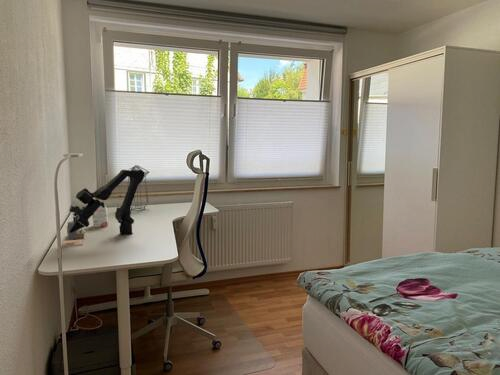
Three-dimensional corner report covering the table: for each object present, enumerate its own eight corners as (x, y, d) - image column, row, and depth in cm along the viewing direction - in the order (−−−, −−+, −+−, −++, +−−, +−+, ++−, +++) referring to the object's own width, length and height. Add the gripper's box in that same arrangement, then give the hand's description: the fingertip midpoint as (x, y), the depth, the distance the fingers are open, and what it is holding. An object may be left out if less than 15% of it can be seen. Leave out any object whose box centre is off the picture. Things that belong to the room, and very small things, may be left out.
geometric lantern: (123, 211, 286) (121, 165, 282) (135, 207, 300) (133, 164, 297) (141, 212, 281) (139, 165, 277) (152, 208, 296) (151, 164, 292)
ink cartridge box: (108, 224, 241) (106, 202, 239) (107, 226, 237) (106, 203, 235) (94, 225, 239) (92, 203, 237) (92, 227, 234) (91, 204, 232)
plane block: (84, 233, 218) (84, 226, 218) (83, 238, 208) (83, 230, 208) (69, 235, 215) (68, 227, 215) (68, 240, 205) (67, 232, 205)
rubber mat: (83, 240, 205) (83, 239, 205) (83, 245, 196) (82, 243, 196) (63, 242, 201) (63, 241, 201) (61, 247, 192) (61, 246, 192)
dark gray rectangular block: (77, 237, 201) (75, 221, 200) (77, 239, 197) (75, 222, 196) (67, 238, 199) (66, 222, 198) (67, 240, 196) (66, 223, 194)
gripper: (75, 197, 205) (55, 219, 201) (81, 202, 190) (58, 226, 186) (92, 209, 211) (72, 231, 206) (98, 215, 195) (76, 238, 191)
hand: (69, 231), depth 197 cm, fingers closed on dark gray rectangular block, 4 cm apart
